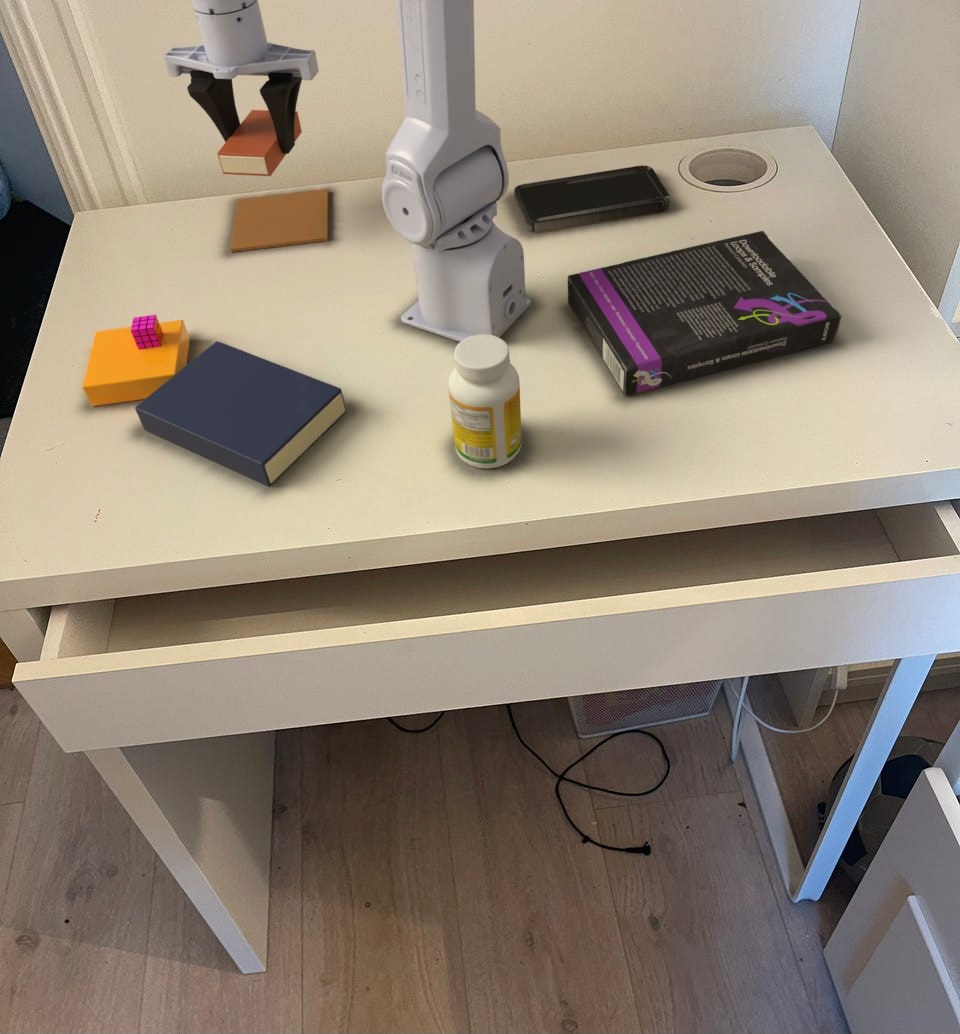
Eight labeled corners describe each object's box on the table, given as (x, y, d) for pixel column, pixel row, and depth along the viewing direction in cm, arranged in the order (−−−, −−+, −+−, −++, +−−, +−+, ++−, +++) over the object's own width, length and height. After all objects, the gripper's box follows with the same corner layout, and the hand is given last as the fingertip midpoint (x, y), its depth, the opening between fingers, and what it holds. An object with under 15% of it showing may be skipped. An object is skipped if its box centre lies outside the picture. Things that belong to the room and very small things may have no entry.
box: (622, 402, 79) (837, 344, 81) (624, 369, 76) (846, 311, 79) (566, 306, 88) (761, 257, 90) (565, 274, 85) (766, 224, 88)
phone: (672, 200, 96) (527, 223, 95) (671, 210, 97) (527, 233, 96) (649, 163, 101) (511, 184, 100) (649, 173, 102) (512, 194, 101)
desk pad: (328, 191, 105) (327, 188, 105) (327, 240, 98) (327, 237, 98) (238, 202, 105) (237, 199, 104) (231, 252, 98) (230, 248, 98)
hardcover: (348, 412, 80) (342, 388, 78) (270, 488, 75) (262, 464, 73) (224, 363, 86) (216, 340, 84) (144, 430, 80) (133, 407, 78)
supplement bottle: (470, 479, 74) (459, 383, 66) (445, 436, 77) (432, 341, 70) (533, 457, 75) (529, 360, 68) (506, 416, 78) (500, 320, 71)
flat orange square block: (183, 394, 83) (167, 355, 80) (91, 406, 83) (72, 368, 80) (190, 338, 88) (176, 300, 85) (104, 350, 88) (86, 312, 85)
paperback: (270, 177, 92) (264, 155, 90) (222, 174, 93) (216, 153, 91) (302, 132, 98) (297, 111, 96) (257, 130, 99) (251, 109, 97)
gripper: (131, 19, 84) (179, 164, 94) (285, 21, 81) (317, 171, 91) (166, -12, 88) (207, 130, 98) (313, -11, 85) (340, 135, 96)
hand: (262, 147), depth 95 cm, fingers closed on paperback, 5 cm apart
